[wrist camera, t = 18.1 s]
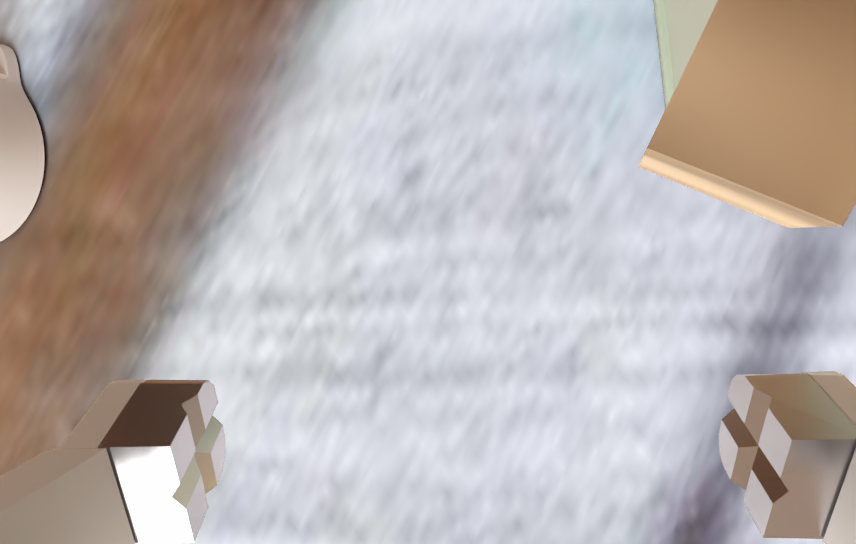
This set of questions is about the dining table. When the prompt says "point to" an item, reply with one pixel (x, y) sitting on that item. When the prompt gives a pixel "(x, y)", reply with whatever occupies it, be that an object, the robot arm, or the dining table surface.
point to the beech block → (767, 112)
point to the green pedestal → (678, 36)
